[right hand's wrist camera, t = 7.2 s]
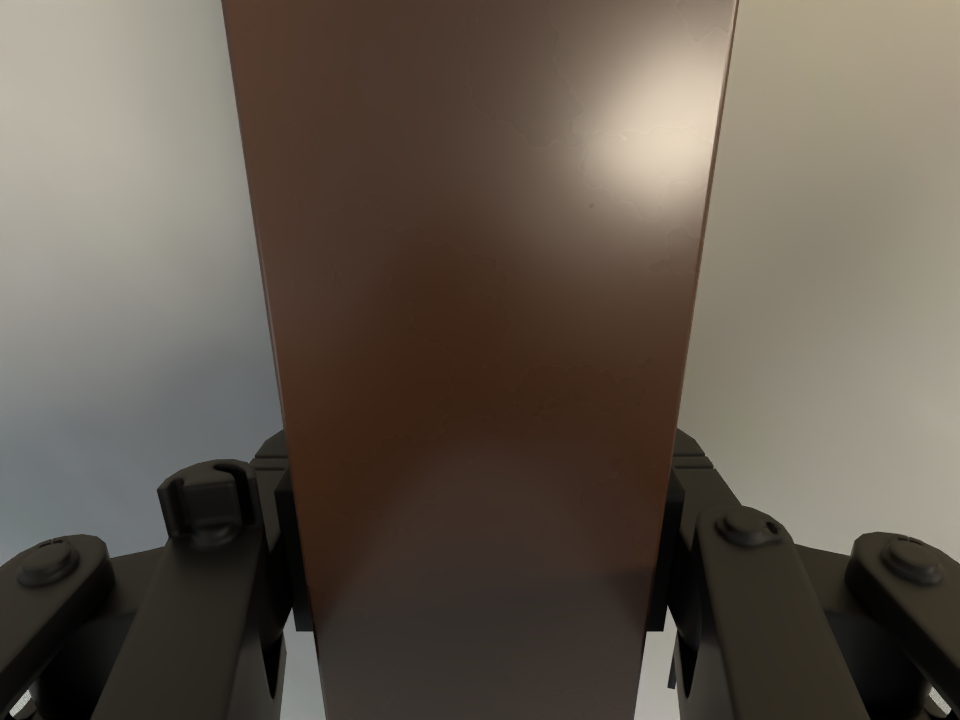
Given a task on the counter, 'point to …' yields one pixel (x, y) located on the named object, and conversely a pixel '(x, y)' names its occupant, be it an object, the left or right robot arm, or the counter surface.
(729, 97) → the counter surface
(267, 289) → the walnut beam
